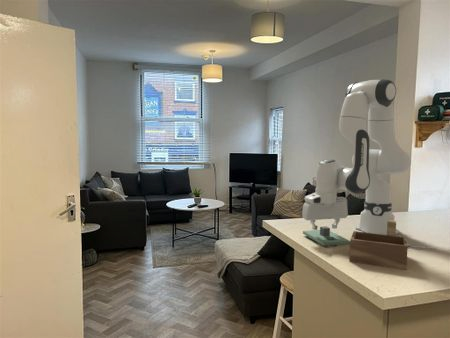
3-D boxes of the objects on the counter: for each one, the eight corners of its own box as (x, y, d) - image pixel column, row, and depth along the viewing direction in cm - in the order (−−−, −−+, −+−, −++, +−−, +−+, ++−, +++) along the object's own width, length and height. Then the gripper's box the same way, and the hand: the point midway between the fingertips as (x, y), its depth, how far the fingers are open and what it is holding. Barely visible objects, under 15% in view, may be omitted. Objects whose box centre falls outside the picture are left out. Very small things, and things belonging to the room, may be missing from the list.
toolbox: (352, 253, 137) (353, 231, 136) (404, 261, 129) (406, 237, 129) (349, 264, 126) (350, 239, 125) (406, 272, 119) (407, 246, 118)
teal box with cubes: (326, 234, 164) (326, 222, 164) (349, 245, 147) (350, 232, 146) (302, 235, 161) (303, 223, 161) (323, 248, 144) (324, 234, 143)
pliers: (434, 252, 136) (392, 245, 144) (434, 256, 136) (391, 249, 144) (436, 246, 144) (396, 239, 152) (436, 249, 144) (395, 243, 153)
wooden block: (385, 252, 139) (387, 220, 138) (394, 253, 138) (396, 220, 136) (385, 255, 136) (387, 221, 135) (394, 256, 135) (396, 222, 134)
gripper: (343, 195, 159) (341, 225, 160) (301, 197, 154) (300, 228, 155) (351, 197, 152) (350, 229, 154) (307, 199, 147) (306, 232, 149)
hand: (324, 228), depth 154 cm, fingers open, 8 cm apart
